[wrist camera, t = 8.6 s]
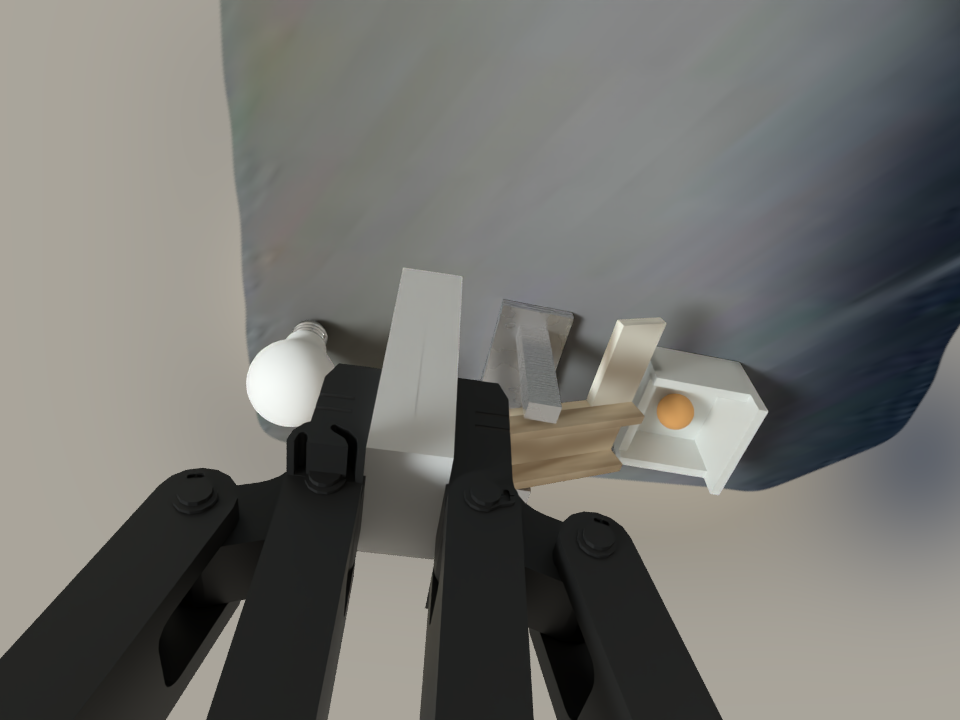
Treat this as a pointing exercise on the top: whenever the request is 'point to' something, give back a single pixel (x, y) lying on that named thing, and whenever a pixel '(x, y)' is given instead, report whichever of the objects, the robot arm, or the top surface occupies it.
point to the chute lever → (587, 415)
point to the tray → (714, 428)
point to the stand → (528, 360)
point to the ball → (675, 411)
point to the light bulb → (290, 375)
